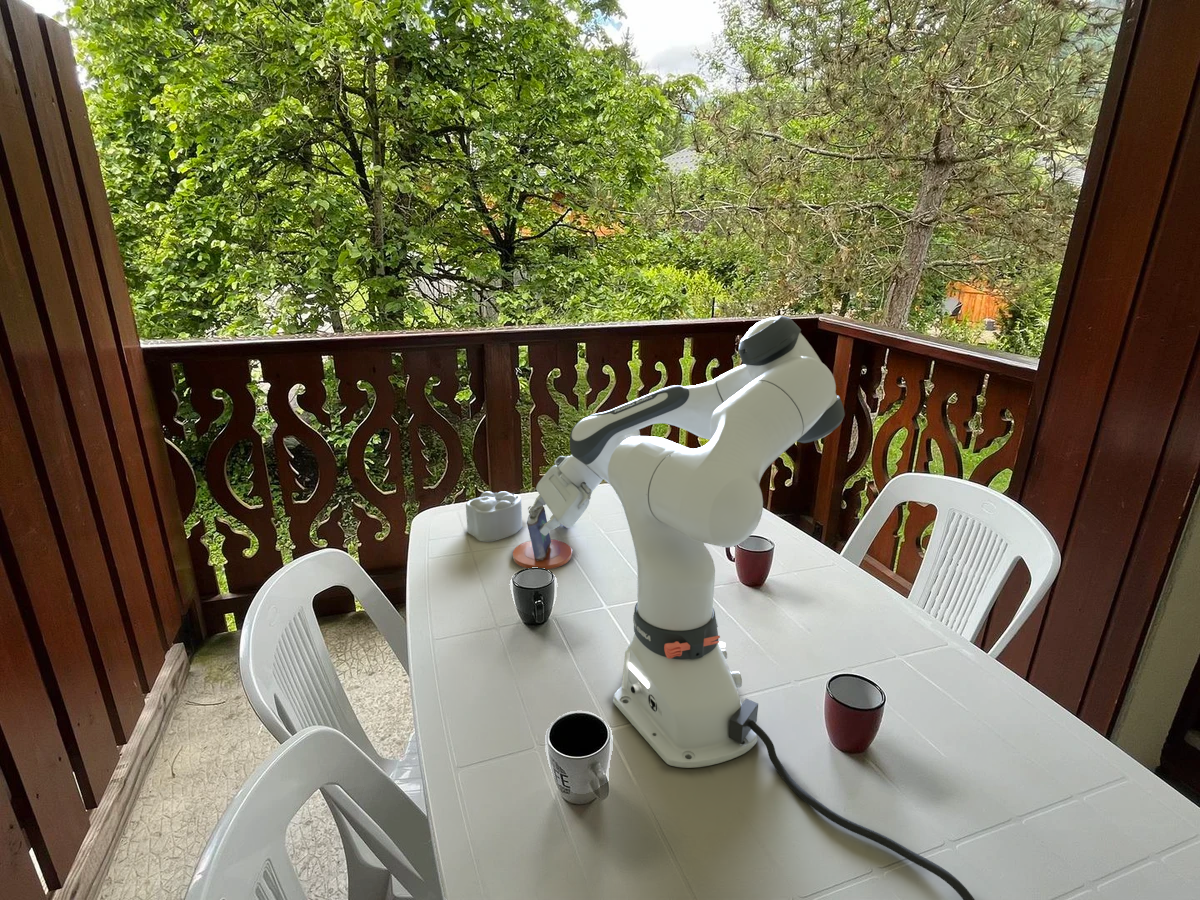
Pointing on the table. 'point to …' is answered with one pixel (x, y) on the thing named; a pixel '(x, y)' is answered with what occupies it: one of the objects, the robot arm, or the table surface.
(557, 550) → the coaster
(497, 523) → the lumpy-topped squat cylinder
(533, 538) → the flask
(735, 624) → the table surface
